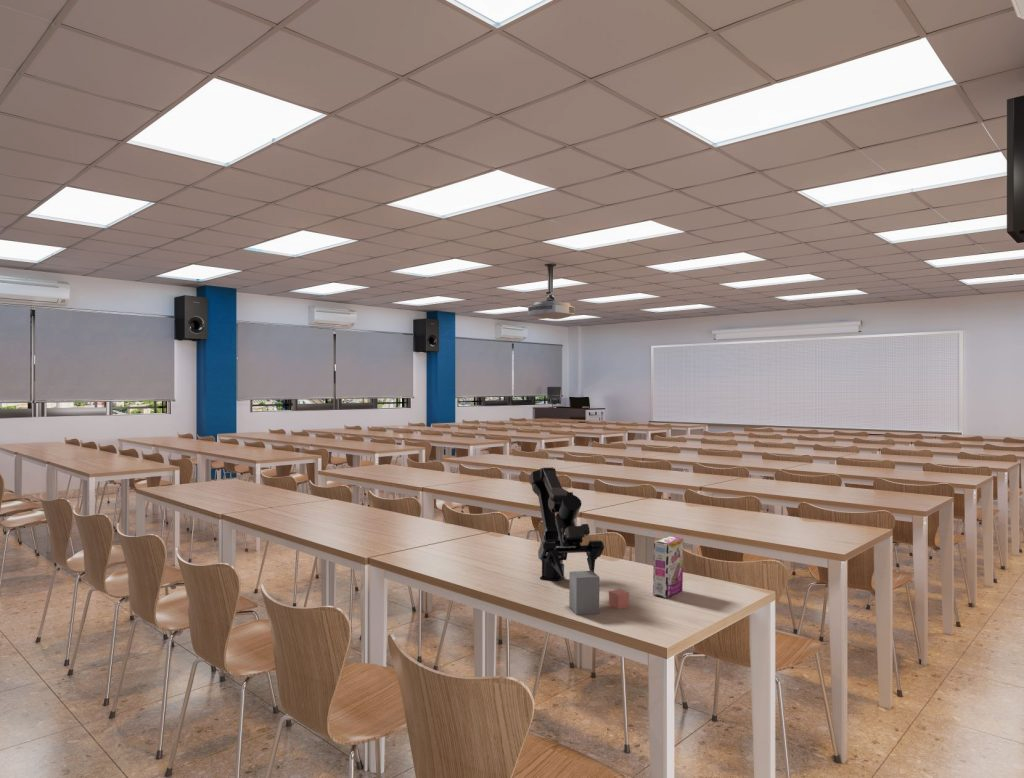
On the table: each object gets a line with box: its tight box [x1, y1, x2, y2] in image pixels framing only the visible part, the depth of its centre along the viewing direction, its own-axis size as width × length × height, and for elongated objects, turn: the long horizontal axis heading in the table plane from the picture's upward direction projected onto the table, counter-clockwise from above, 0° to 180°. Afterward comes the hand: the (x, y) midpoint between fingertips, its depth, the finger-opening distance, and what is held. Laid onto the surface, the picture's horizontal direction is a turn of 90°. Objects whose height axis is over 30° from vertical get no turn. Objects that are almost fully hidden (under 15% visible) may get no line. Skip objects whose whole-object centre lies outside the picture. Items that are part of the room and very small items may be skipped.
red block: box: [608, 588, 630, 610], centre depth 182 cm, size 4×4×4 cm
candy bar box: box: [652, 536, 684, 599], centre depth 195 cm, size 11×5×16 cm, turn 141°
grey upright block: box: [568, 570, 600, 616], centre depth 178 cm, size 7×7×10 cm
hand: (577, 575), depth 184 cm, fingers open, 9 cm apart
